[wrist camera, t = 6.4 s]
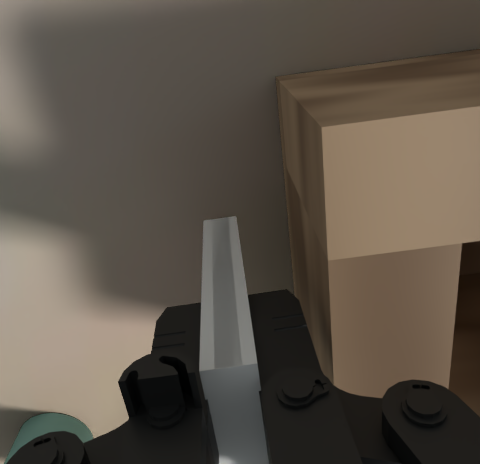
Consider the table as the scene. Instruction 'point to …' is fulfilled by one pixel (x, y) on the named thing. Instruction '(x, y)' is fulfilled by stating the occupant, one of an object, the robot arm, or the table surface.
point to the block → (387, 219)
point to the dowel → (49, 429)
